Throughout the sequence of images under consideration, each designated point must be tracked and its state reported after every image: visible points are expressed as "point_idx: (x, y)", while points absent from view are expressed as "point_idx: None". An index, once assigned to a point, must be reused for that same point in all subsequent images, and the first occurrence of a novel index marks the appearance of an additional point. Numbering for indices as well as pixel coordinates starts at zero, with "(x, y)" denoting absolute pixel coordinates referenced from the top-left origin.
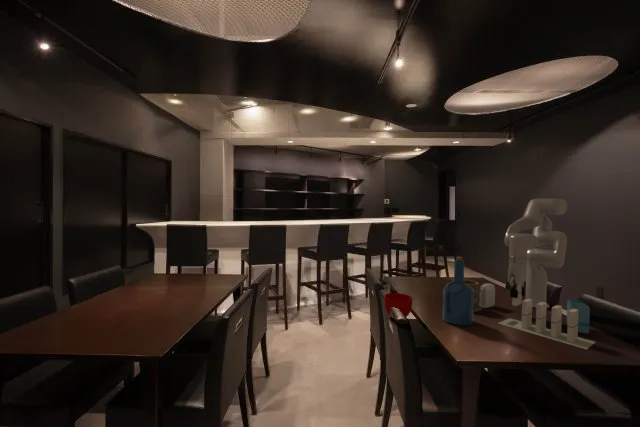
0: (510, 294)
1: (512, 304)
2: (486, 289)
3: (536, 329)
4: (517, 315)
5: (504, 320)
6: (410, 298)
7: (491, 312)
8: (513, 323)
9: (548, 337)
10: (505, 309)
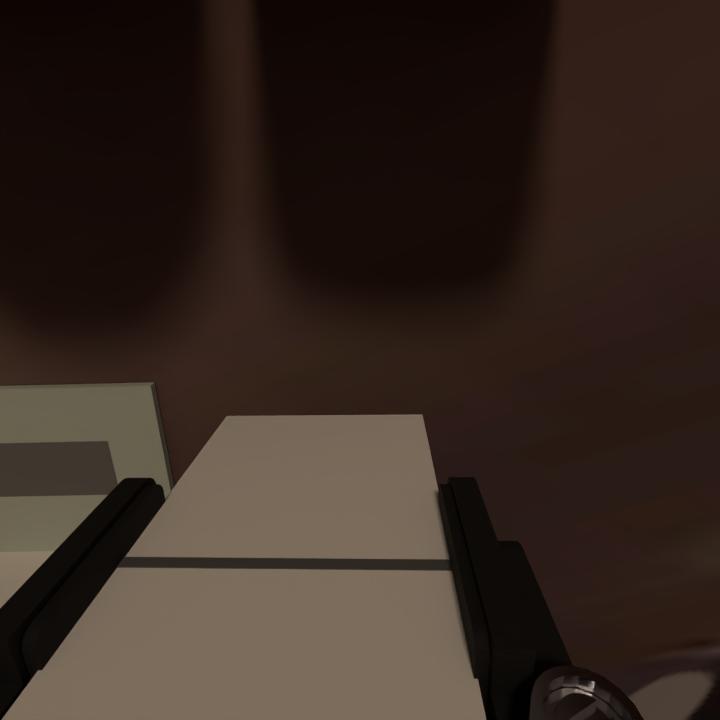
0: (96, 510)
1: (222, 425)
2: None
3: None
4: (367, 373)
5: (25, 391)
6: None
7: (183, 136)
8: (33, 475)
9: None
10: (496, 177)
